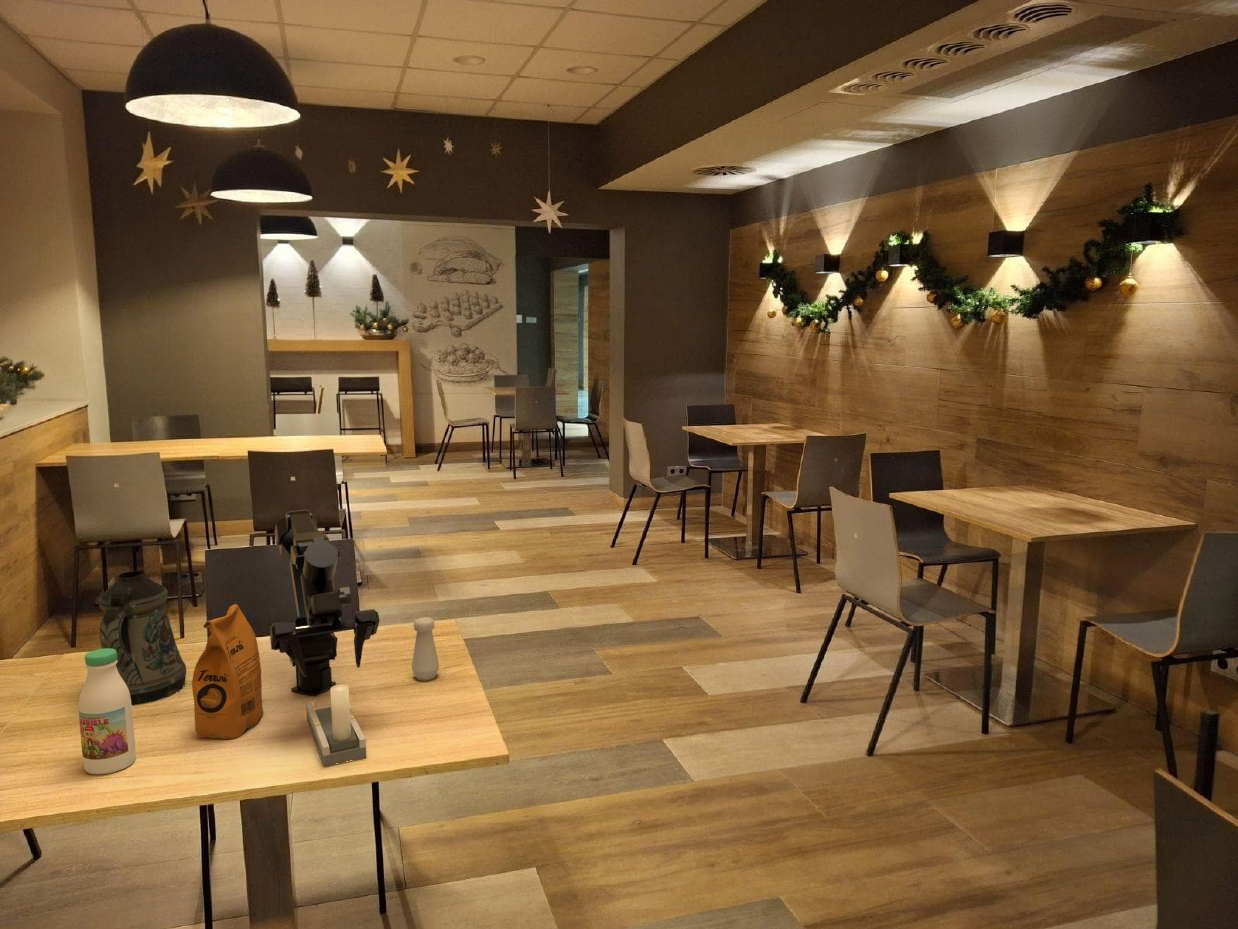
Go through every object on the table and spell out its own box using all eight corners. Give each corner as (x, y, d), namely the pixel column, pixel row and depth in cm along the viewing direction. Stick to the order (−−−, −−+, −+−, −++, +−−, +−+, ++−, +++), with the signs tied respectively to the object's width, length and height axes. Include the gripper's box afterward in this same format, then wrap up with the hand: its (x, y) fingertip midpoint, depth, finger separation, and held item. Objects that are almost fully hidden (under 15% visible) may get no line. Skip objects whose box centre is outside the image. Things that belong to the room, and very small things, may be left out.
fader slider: (327, 743, 149) (324, 686, 148) (353, 737, 151) (350, 681, 150) (331, 752, 146) (328, 694, 144) (357, 747, 148) (355, 689, 146)
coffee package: (185, 740, 155) (176, 623, 152) (222, 711, 167) (215, 602, 164) (238, 742, 154) (230, 624, 151) (271, 713, 166) (265, 603, 163)
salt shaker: (432, 683, 181) (430, 624, 179) (407, 681, 182) (405, 622, 180) (443, 673, 186) (441, 615, 185) (419, 671, 188) (417, 614, 186)
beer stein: (182, 669, 189) (174, 559, 185) (194, 699, 172) (185, 579, 169) (94, 685, 180) (84, 570, 176) (98, 719, 164) (87, 592, 160)
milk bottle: (98, 755, 149) (88, 644, 146) (144, 753, 150) (135, 643, 147) (74, 777, 142) (63, 661, 139) (123, 775, 142) (113, 659, 140)
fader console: (307, 721, 162) (306, 703, 162) (345, 714, 166) (344, 696, 165) (324, 767, 145) (323, 746, 144) (366, 758, 148) (365, 737, 148)
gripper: (268, 579, 151) (278, 659, 143) (375, 567, 160) (391, 641, 152) (266, 610, 159) (276, 688, 151) (368, 597, 168) (383, 669, 160)
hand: (332, 671), depth 153 cm, fingers open, 9 cm apart
